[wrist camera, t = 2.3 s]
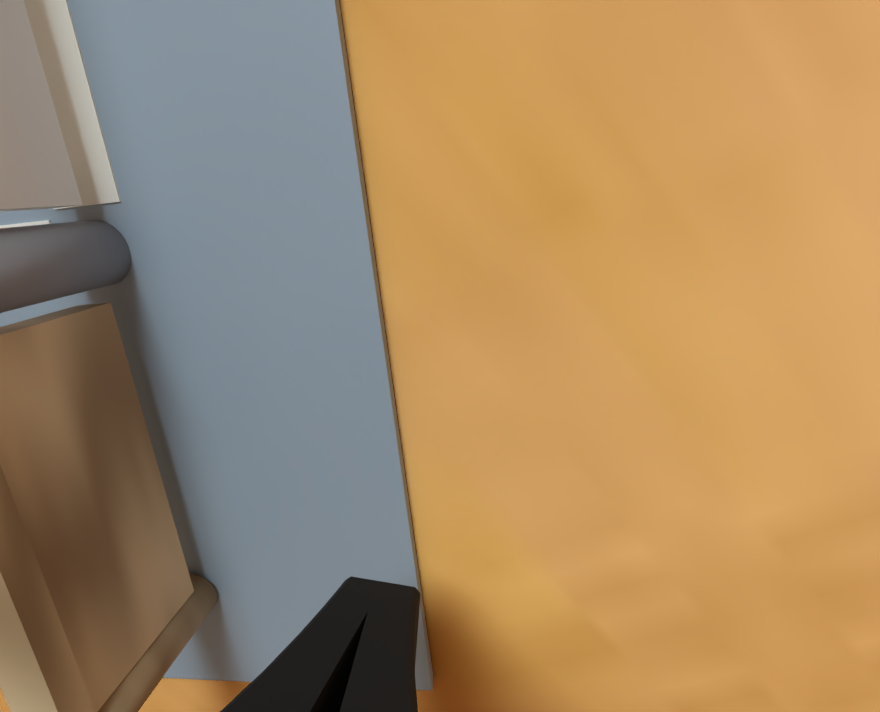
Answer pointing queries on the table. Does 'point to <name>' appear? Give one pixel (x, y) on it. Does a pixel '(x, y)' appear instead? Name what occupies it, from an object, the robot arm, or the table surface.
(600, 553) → the table surface
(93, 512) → the fence panel
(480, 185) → the table surface
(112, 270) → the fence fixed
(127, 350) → the mat
